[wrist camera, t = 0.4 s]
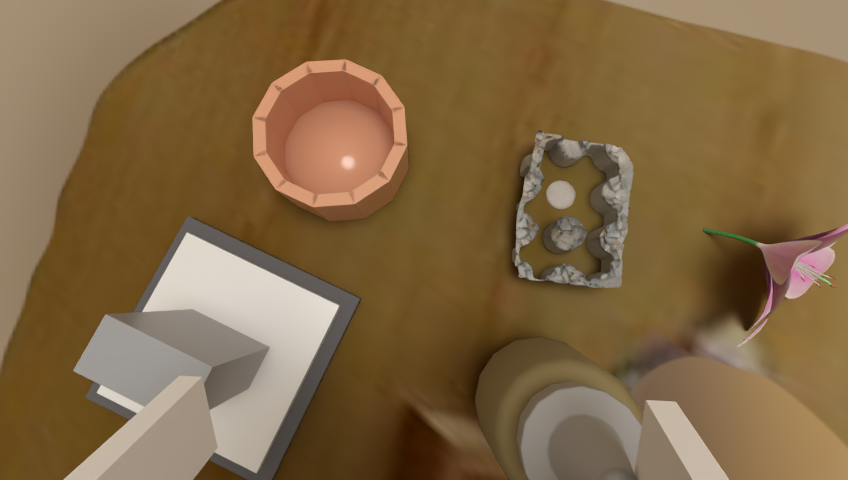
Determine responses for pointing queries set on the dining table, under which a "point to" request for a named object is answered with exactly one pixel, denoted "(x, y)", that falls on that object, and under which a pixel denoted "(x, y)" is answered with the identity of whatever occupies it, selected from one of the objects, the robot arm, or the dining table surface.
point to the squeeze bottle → (557, 414)
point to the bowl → (332, 139)
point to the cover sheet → (256, 318)
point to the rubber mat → (318, 368)
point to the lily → (792, 266)
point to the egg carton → (569, 230)
